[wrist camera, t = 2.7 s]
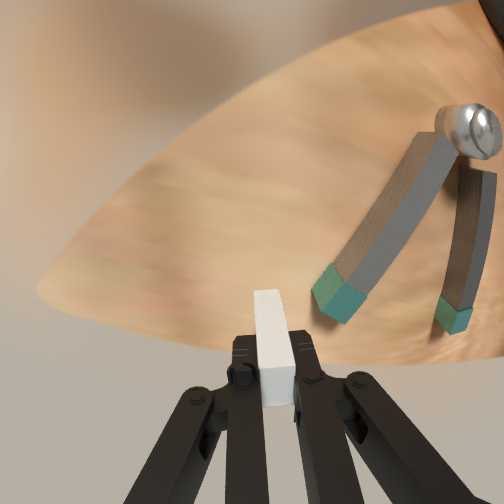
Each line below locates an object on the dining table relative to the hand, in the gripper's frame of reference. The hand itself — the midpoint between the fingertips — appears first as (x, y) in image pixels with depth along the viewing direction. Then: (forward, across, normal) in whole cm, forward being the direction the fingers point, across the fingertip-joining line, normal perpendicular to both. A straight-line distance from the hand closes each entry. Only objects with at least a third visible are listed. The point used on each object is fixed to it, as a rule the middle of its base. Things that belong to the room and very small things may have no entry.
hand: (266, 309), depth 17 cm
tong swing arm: (+7, +13, +5) cm, 16 cm away
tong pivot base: (+7, +20, +3) cm, 21 cm away
